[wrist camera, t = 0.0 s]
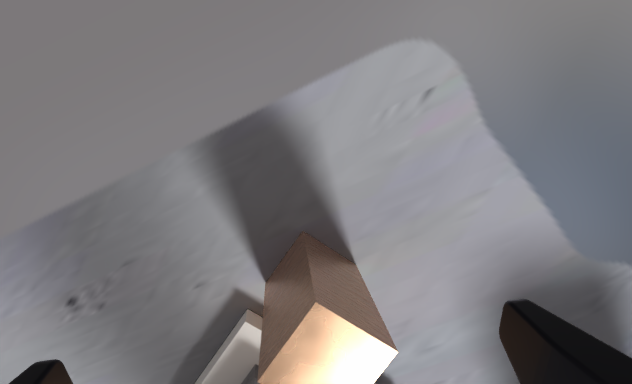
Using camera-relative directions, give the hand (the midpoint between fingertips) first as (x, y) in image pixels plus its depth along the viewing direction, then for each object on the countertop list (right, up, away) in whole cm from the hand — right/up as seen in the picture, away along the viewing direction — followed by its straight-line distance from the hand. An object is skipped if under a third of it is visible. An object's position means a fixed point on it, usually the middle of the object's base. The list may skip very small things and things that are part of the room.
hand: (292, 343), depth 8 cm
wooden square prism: (0, -2, +16) cm, 16 cm away
